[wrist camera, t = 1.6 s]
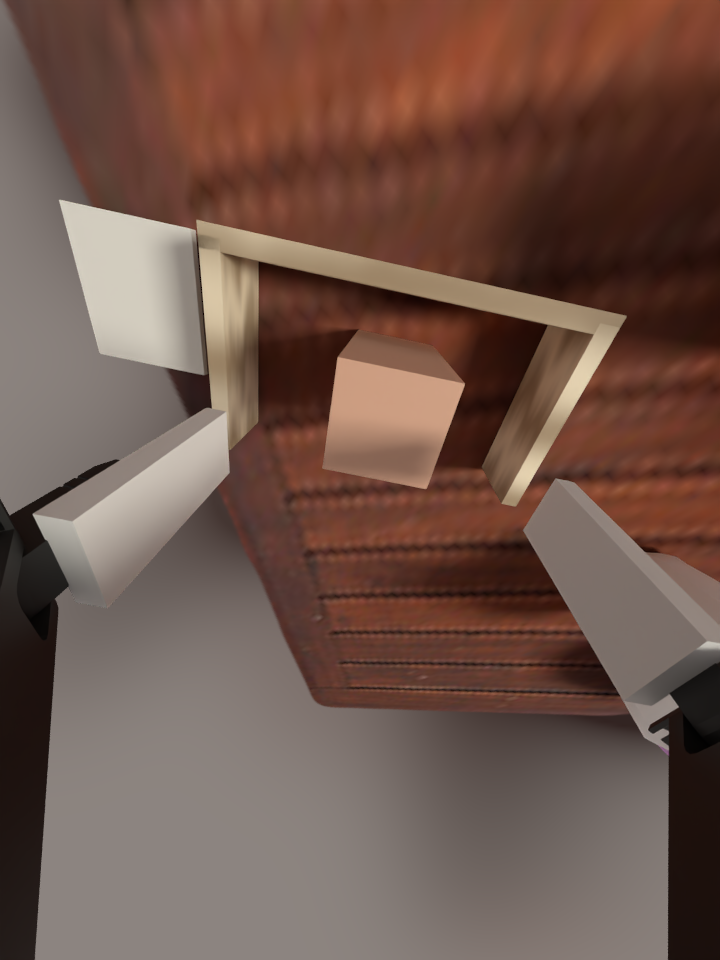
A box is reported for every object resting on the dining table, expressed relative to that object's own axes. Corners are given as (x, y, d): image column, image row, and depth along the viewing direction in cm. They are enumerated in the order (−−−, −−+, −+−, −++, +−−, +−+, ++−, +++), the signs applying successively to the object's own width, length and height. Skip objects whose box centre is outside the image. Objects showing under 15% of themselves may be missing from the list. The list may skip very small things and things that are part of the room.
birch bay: (241, 237, 21) (196, 219, 16) (571, 310, 22) (627, 315, 17) (245, 419, 29) (215, 446, 24) (493, 469, 29) (515, 506, 24)
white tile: (66, 201, 21) (58, 199, 21) (195, 230, 21) (190, 228, 21) (104, 352, 26) (99, 353, 26) (207, 373, 27) (204, 375, 26)
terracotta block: (358, 329, 24) (337, 356, 14) (432, 345, 24) (465, 383, 14) (346, 402, 27) (322, 468, 17) (411, 415, 27) (426, 489, 17)
